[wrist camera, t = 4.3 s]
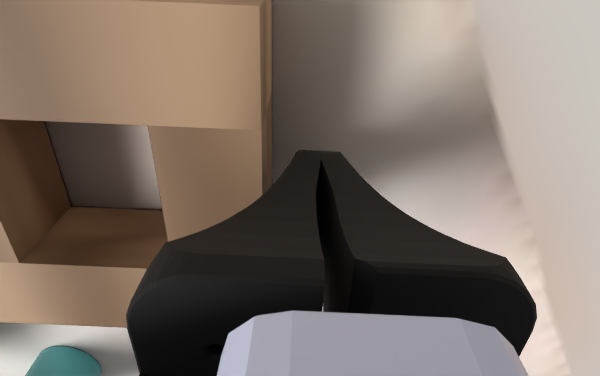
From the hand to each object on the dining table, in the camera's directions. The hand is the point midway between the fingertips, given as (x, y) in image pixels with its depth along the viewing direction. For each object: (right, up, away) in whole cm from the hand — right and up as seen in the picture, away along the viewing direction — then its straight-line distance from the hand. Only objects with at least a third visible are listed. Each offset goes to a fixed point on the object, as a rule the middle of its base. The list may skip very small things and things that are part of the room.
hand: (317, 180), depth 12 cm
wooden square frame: (-6, +1, +1) cm, 7 cm away
